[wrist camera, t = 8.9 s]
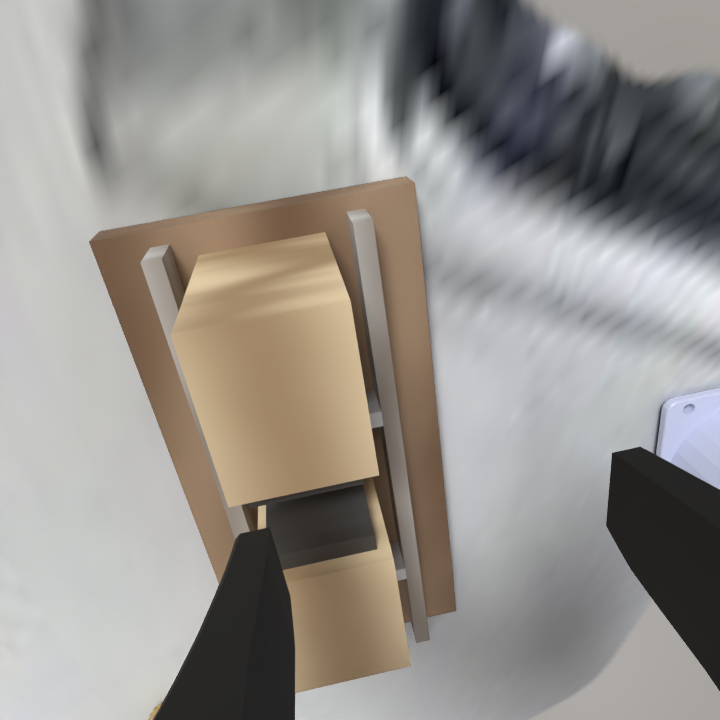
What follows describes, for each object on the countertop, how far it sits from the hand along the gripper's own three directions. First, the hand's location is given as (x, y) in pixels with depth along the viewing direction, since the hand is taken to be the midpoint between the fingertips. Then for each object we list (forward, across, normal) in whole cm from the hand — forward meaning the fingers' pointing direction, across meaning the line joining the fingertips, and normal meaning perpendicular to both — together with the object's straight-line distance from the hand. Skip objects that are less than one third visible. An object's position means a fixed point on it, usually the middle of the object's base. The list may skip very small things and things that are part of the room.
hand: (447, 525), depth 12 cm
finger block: (+9, +3, +7) cm, 12 cm away
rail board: (+10, +3, +5) cm, 12 cm away
